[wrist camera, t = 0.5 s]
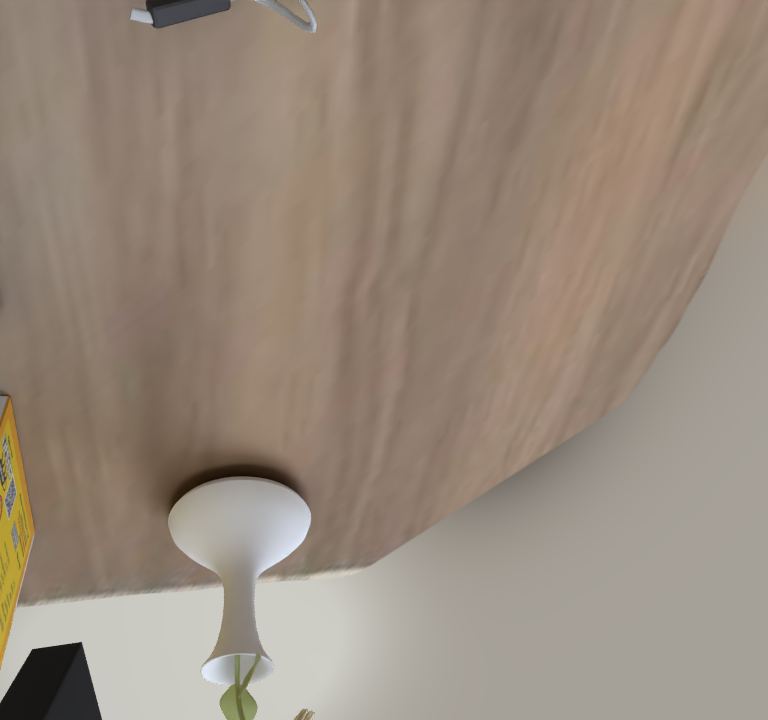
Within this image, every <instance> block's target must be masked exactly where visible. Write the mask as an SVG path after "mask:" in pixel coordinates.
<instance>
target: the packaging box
mask: <svg viewBox="0 0 768 720" xmlns="http://www.w3.org/2000/svg"><path fill="white" fill-rule="evenodd" d="M34 534H35V529H34V524H33V518H32V513H31V507H30V502H29V496H28V491H27V485H26V480H25V474H24V469H23V463H22V457H21V452H20V446H19V441H18V435H17V430H16V424H15V419H14V413H13V408H12V402H11V397H9V396H0V668H1V664H2V660H3V657H4V653H5V649H6V645H7V641H8V636H9V633H10V629H11V625H12V621H13V617H14V613H15V609H16V605H17V601H18V598H19V594H20V590H21V586H22V582H23V578H24V574H25V570H26V566H27V562H28V558H29V554H30V550H31V546H32V542H33V538H34Z"/></svg>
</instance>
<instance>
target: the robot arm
mask: <svg viewBox="0 0 768 720" xmlns="http://www.w3.org/2000/svg"><path fill="white" fill-rule="evenodd" d="M0 720H102V718H101V714H100V710H99V707H98V702H97V699H96V695H95V691H94V687H93V683H92V680H91V676H90V672H89V668H88V664H87V661H86V657H85V653H84V649H83V645H82V642H79V643H72V644H66V645H59V646H51V647H45V648H38V649H32V651H31V653H30V654H29V656H28V657H27V659H26V661H25V663H24V664H23V666H22V668H21V669H20V671H19V673H18V674H17V676H16V678H15V679H14V681H13V683H12V684H11V686H10V688H9V689H8V691H7V693H6V694H5V696H4V698H3V700H2V701H1V703H0Z"/></svg>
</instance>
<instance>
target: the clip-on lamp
mask: <svg viewBox="0 0 768 720" xmlns="http://www.w3.org/2000/svg"><path fill="white" fill-rule="evenodd" d="M230 1H231V0H147V1H146V7H147V10H143V9H138V8H134V7H132V11H131V16H130V20H135V21H140V22H145V23H149V24H151V25H152V26H153V27H154V28H162V27H166V26H169V25H173V24H177V23H181V22H184V21H188V20H192V19H196V18H199V17H203V16H207V15H210V14H214V13H218V12H222V11H225V10H229V9H230V7H231V6H230ZM254 1H256V2H259V3H261V4H263V5H266V6H268V7H270V8H272V9H273V10H275V11H276V12H278V13H279V14H281V15H283V16H284V17H286V18H287V19H288V20H290V21H291V22H293V23H294V24H296V25H297V26H299V27H300V28H302V29H304V30H305V31H307V32H316V29H317V21H316V19H315V16H314V14H313V11H312V9H311V8H310V6H309V5H308V3H307V2H306V0H298V1H299V2H300V4H301V5H302V7H303V8H304V10H305V11H306V14H307V16H308V18H309V20H310V23H307V22H305V21H304V20H302V19H301V18H299V17H298V16H296V15H295V14H294V13H292V12H291V11H290V10H288V9H287V8H286V7H285V6H283V5H282V4H280V3H279V2H277V1H276V0H254Z"/></svg>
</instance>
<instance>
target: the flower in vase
mask: <svg viewBox="0 0 768 720" xmlns="http://www.w3.org/2000/svg"><path fill="white" fill-rule="evenodd" d="M310 523H311V513H310V510H309V508H308V506H307V504H306V503H305V502H304V500H303V499H302V498H301V497H300V496H299V495H298V494H297V493H296V492H295V491H293V490H292V489H290V488H289V487H287V486H285V485H283V484H281V483H278V482H276V481H272V480H269V479H264V478H258V477H243V476H239V477H227V478H221V479H217V480H213V481H209V482H206V483H204V484H201V485H199V486H197V487H195V488H193V489H192V490H190V491H189V492H187V493H186V494H185V495H184V496H183V497H182V498H181V499H180V500H179V501H178V502H177V503H176V504H175V505H174V507H173V508H172V510H171V512H170V514H169V518H168V526H169V530H170V533H171V536H172V538H173V540H174V542H175V544H176V545H177V546H178V548H180V549H181V550H182V551H183V552H184V553H185V554H186V555H187V556H189V557H190V558H191V559H193V560H194V561H196V562H197V563H199V564H201V565H202V566H204V567H206V568H208V569H210V570H212V571H214V572H215V573H217V574H218V575H219V576H220V577H221V579H222V581H223V587H224V610H223V619H222V625H221V630H220V634H219V638H218V641H217V644H216V646H215V649H214V651H213V652H212V654H211V656H210V657H209V658H208V659H207V661H206V662H205V663H204V664H203V666H202V668H201V675H202V676H203V677H204V678H205V679H206V680H208V681H210V682H213V683H216V684H221V685H232V686H230V687H229V689H228V690H227V691H226V692H225V693H224V695H223V696H222V697H221V699H220V707H221V709H222V711H223V713H224V715H225V717H226V718H227V720H253V719H254V717H255V715H256V712H257V704H256V701H255V700H254V699H253V697H252V696H251V695H250V693H249V692H248V691H247V690H246V687H247V685H248V684H250V683H253V682H257V681H260V680H262V679H264V678H265V677H267V676H269V675H270V674H271V673H272V672H273V670H274V664H273V662H272V660H271V659H270V658H269V657H268V656H267V654H266V653H265V651H264V650H263V648H262V646H261V643H260V641H259V637H258V633H257V629H256V621H255V611H254V593H255V585H256V580H257V578H258V576H259V575H260V574H261V573H262V572H263V571H265V570H266V569H268V568H270V567H271V566H273V565H275V564H276V563H278V562H279V561H281V560H282V559H284V558H286V557H287V556H288V555H289V554H291V553H292V552H293V551H294V550H295V549H296V548H297V547H298V546H299V545H300V544H301V543H302V542H303V540H304V539H305V537H306V534H307V532H308V529H309V527H310ZM307 712H308V710H307V709H306V710H304V709H303V710H302V711H301V712H300V713H299V714H298V716H296V718H295V719H294V720H313V717H314V714H315V713H314V712H312V711H310V712H308V713H307Z"/></svg>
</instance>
